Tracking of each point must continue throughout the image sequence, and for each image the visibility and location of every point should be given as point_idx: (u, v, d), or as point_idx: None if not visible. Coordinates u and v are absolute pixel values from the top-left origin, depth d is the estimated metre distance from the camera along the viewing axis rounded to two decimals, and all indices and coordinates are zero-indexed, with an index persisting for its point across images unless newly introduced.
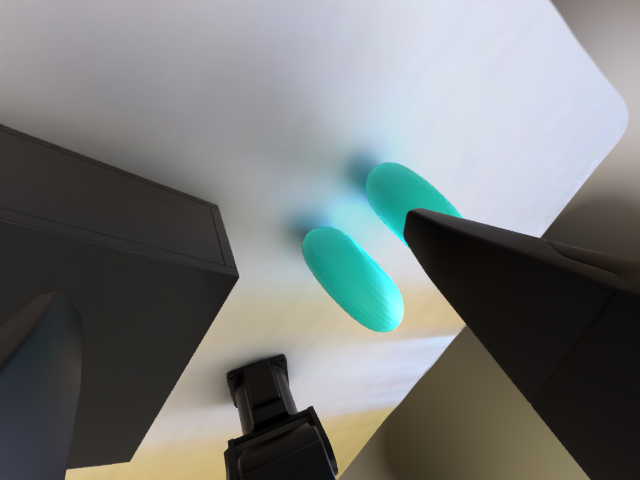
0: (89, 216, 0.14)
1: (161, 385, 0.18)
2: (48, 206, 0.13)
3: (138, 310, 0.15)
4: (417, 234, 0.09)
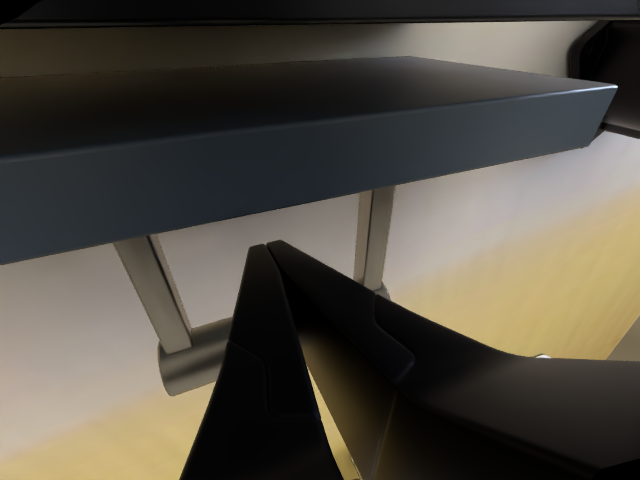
0: None
1: None
2: None
3: None
4: None
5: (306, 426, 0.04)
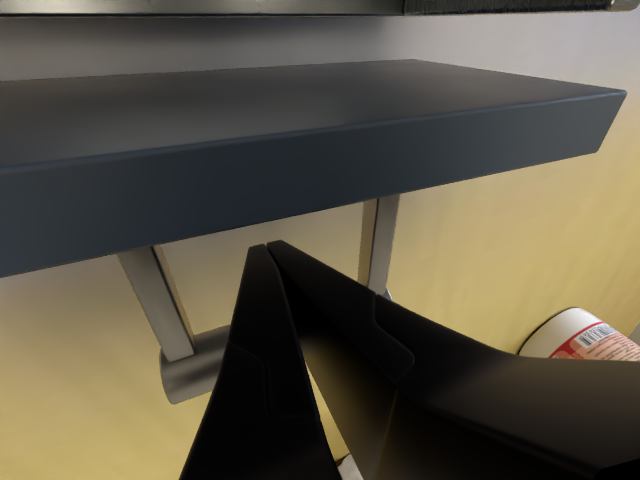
0: None
1: None
2: None
3: None
4: None
5: (305, 426, 0.04)
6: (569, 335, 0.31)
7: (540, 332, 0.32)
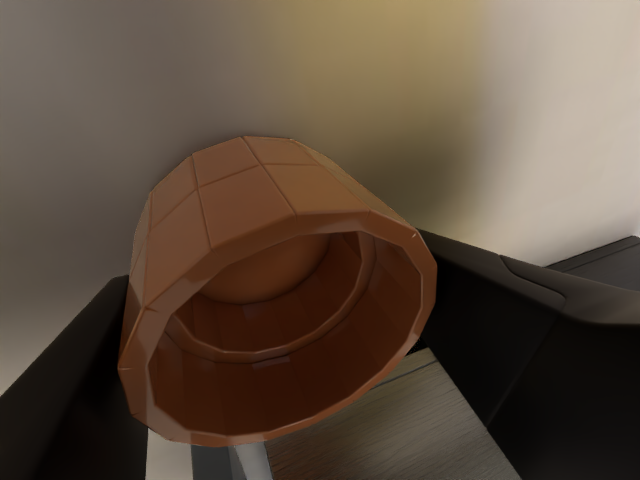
0: None
1: None
2: None
3: None
4: None
5: None
6: None
7: None
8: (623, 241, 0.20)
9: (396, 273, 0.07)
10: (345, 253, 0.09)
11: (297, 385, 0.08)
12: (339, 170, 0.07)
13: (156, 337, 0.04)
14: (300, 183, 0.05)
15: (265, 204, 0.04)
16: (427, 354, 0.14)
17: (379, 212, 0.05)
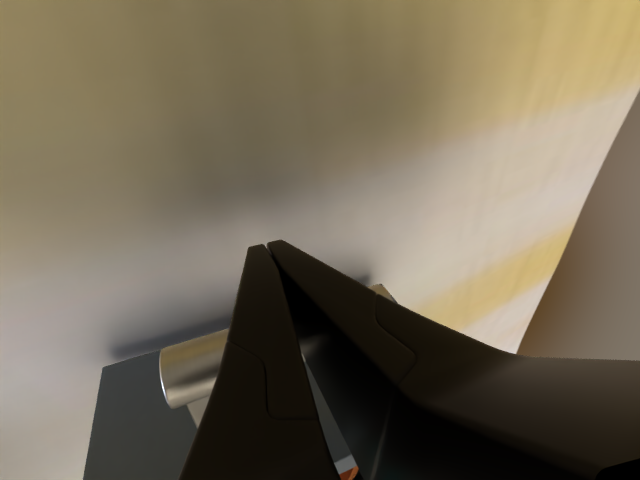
0: None
1: None
2: None
3: None
4: None
5: (305, 427, 0.03)
6: None
7: None
8: None
9: None
10: None
11: None
12: None
13: None
14: None
15: None
16: None
17: None
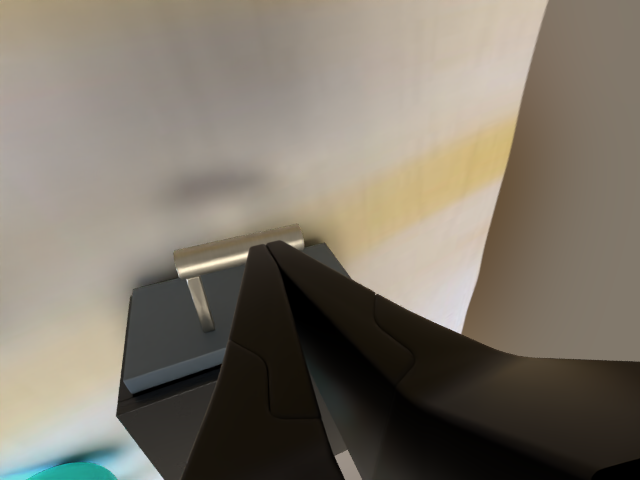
0: None
1: (177, 474, 0.19)
2: None
3: None
4: None
5: (307, 426, 0.04)
6: None
7: None
8: None
9: None
10: None
11: None
12: None
13: None
14: None
15: None
16: None
17: None
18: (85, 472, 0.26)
